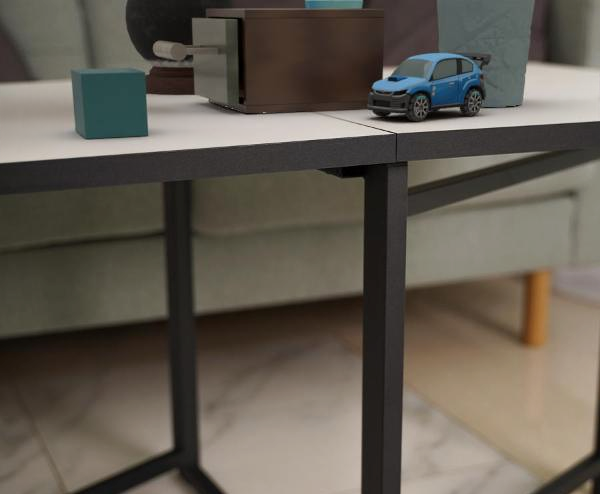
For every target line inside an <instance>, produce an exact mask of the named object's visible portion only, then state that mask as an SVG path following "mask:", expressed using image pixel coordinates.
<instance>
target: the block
mask: <svg viewBox="0 0 600 494" xmlns="http://www.w3.org/2000/svg"><path fill="white" fill-rule="evenodd" d="M70 75H71V77H70V78H71V89H72V91H71V92H72V104H73V116H74V130H75V132H76V133H77V134H79V136H82V137H83V138H84V139H86V140H93V139H111V138H129V137H146V136H147V137H148V136H149V123H148V121H149V120H148V102H147V101H148V100H147V93H146V79H145V75H146V71H144V70H140V69H136V68H134V67H115V68H114V67H113V68H112V67H111V68H110V67H109V68H108V67H107V68H76V69H75V68H73V69H72V68H71V69H70Z"/></svg>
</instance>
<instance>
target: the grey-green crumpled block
mask: <svg viewBox="0 0 600 494" xmlns="http://www.w3.org/2000/svg"><path fill="white" fill-rule="evenodd" d="M535 3H536V0H436V8H437V10H436V11H437V20H438V21H437V23H438V24H437V25H438V27H437V28H438V51H439V52H438V53H450V54H452V53H455V52H456V53H477V54H490V55H491V60H490V62H489V64H488V65H484V66H483V68H482V72H483V79H484V84H485V87H486V98H485V100H482V106H481V107H497V108H507V107H506V106H514V107H517V106H516V105H520V106H522V104H523V101H524V94H525V88H526V87H525V86H526V74H527V65H528V61H529V53H530V46H531V34H532V30H531V28H532V27H531V26H532V23H533V15H534V10H535ZM466 58H473V57H466ZM477 59H481V58H478V57H477ZM472 61H473V62H474V63H475V64H476V65H477V66H478V67H479V66H480V65H481V63H482V61H478V60H472Z"/></svg>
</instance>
